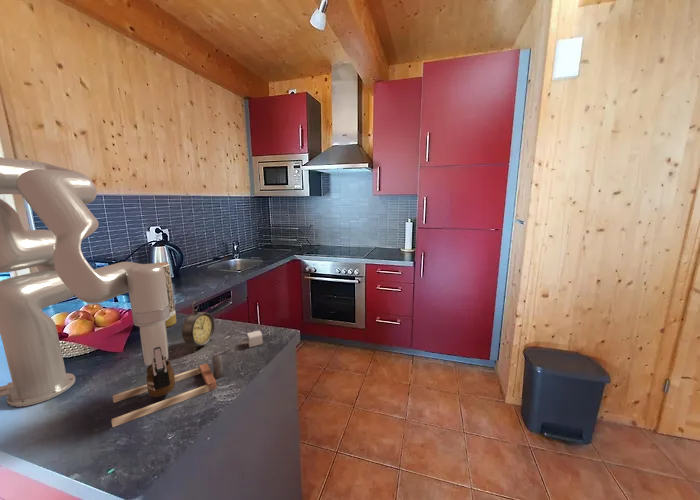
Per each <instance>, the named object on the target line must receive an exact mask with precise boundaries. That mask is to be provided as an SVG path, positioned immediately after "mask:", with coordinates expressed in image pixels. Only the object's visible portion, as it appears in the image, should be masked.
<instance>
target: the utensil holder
mask: <svg viewBox="0 0 700 500" xmlns="http://www.w3.org/2000/svg"><path fill="white" fill-rule="evenodd" d="M162 359H163V357H162ZM154 362H155V361H154ZM162 363H163V362H162ZM156 367H157V365H156V364H155V368H156ZM166 367H167V370H168V374H169V381H170V385H169V386H166V387H163V388H160V389H157V390H155V388H154V381H153V374H154V373H153V366H152V364H151V365H148V366H147V368H146V374H147V375H146V385H147V388H148V391H147V393H148V394H149V396H151V397H154V398H158V397H163V396H165V395H167V394H169V393H171V392H172V391H173V390H174V389H175V387H176V382H175V378H174V375H175V373H174V369H173V368H172V364H171V361H169V360H168V359H167V360H166Z"/></svg>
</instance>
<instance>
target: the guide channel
mask: <svg viewBox="0 0 700 500" xmlns="http://www.w3.org/2000/svg"><path fill="white" fill-rule="evenodd" d="M222 358H223V357H222V354H214V355H213V356H212V358H211V359H212V369H213V372H212V370H211V368H210V365H209V364H208V363H203V364H200V365H199V367H195V368H193V369H190V370H187V371H186V370H185V371H184V372H181V373H177V374H174V378H175V383H177V382H180V381H183V380H186V379H188V378H192V377H194V376H198V375H200V374H201V376H202V379H203V381H204V385H201V386H199V387H196V388H194V389H190V390H188V391H186V392H181V393H179V394H177V395H174V396H172V397H168V398H166V399H164V400H161V401H158V402H155V403H152V404H149V405H147V406H144V407H141V408H138V409H135V410H132V411H130V412H128V413H124V414H122V415H120V416H116V417H114V418H111V422H110V423H111V426H112V428H116V427H117V426H120V425H121V426H122V425H123V424H126V423H128V422H131V421H134V420H137V419H138V418H141V417H145V416H146V415H149V414H152V413H155V412H158V411H161V410H163V409H165V408H167V407H170V406H173V405H176V404H179V403H181V402H184V401H186V400H189V399H192V398H196V397H198V396H200V395H203V394H205V393H208V392H211V391H212V390H215V389H217V388H218V385H217V380H216V379H221V378H222V377H223V376H224V369H223V359H222ZM144 393H148V388H147V384H144V385H142V386H138V387H134V388H132V389H129V390H126V391H125V390H124V391H122V392H119V393H116V394H114V395H112V401H113V403H114V404H115V403H118V402H120V401H123V400H127V399H129V398H132V397H135V396H139V395H141V394H144Z"/></svg>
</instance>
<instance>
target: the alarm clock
mask: <svg viewBox="0 0 700 500" xmlns="http://www.w3.org/2000/svg"><path fill="white" fill-rule="evenodd" d="M195 303H197V304H196V305H197V308H195V309H194V308H193V307H194V304H195ZM199 307H200V306H199V302H198V301H197V300H196V301H193V303H192V304H191V311H192V313H191V314H190V315H188V316H187V317H186V319H185V320H184V322H183V325H182V329H181V334H182V339H183V341H184V342H185V343H186V344H187V345H189V346H193V351H192V354H195V352H196V350H197V347H203V346H205V345H207V344H208V343H210V341H213V340H212V337H213V336H214V335H213V334H214V332H215V321H214V317H213V316H212V315H211V313H209V312H202V311H201V312H198V309H199Z"/></svg>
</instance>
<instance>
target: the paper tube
mask: <svg viewBox="0 0 700 500" xmlns="http://www.w3.org/2000/svg"><path fill="white" fill-rule="evenodd" d="M153 264H159V265H161V266H162V267H163V268H164V272H165V279H166V287H167V295H168V302H169V310H170V318H169V319H168V320H166V321H165V323H166V328H170V327H173V326H174V325H175V324H177V316H176V306H175V297H174V290H173V282H172V274H171V266H170V263H169V262H155V263H153Z"/></svg>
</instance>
